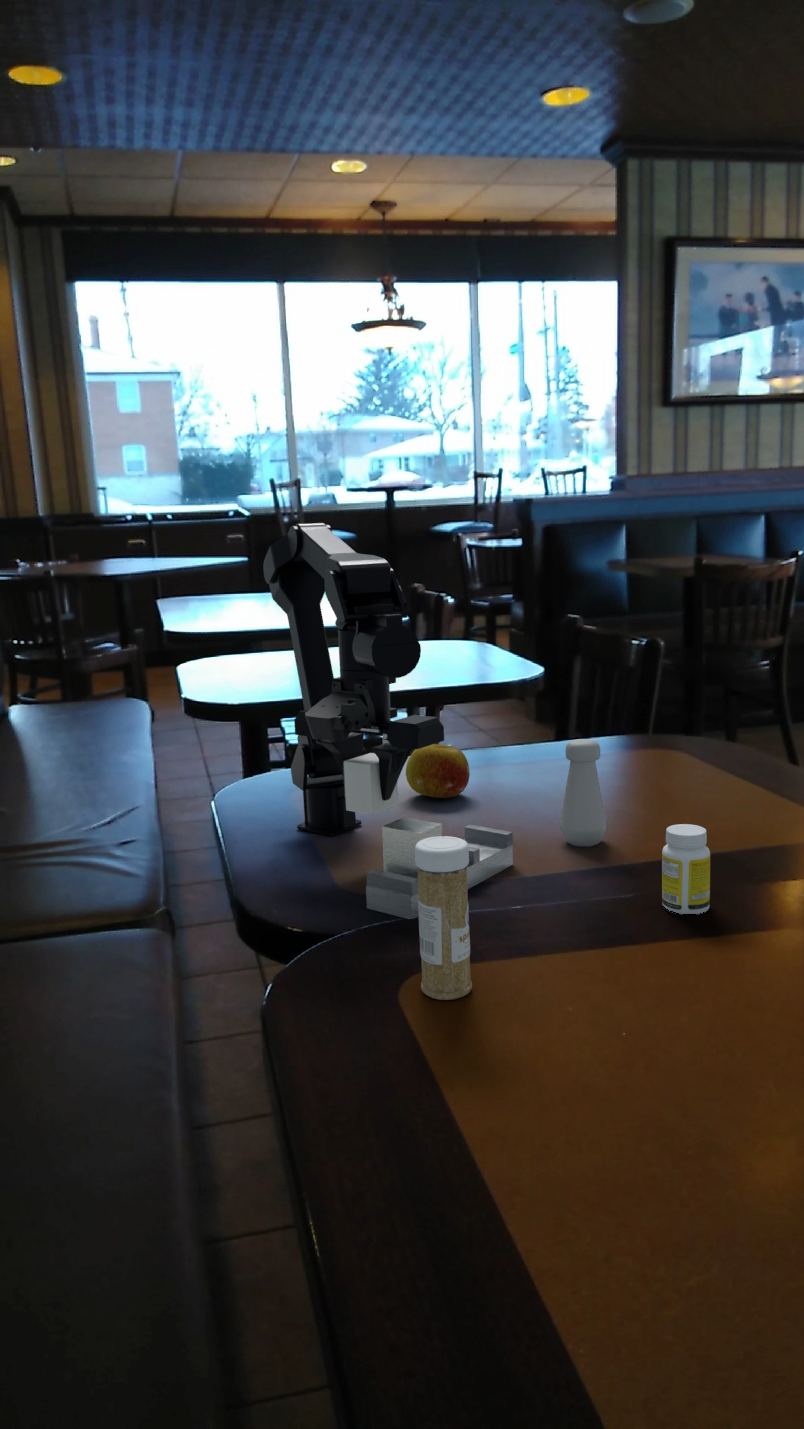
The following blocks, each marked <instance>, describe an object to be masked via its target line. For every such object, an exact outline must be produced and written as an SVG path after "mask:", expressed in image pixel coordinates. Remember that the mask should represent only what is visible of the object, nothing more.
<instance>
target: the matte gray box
mask: <svg viewBox="0 0 804 1429" xmlns="http://www.w3.org/2000/svg"><path fill="white" fill-rule="evenodd" d="M343 778H344V797H345V798H346V810H347V811H353V812H355V813H359V814H365V815H369V816H373V815H376V814H378V813H382V812H384V811H386V810H389V809H392V808H394V807H396V806H399V790H398V789H399V787H398V783H399V782H397V783H396V786H395V788H394V791H393V793H392V795H391V798H390V799H389V800H386V801H384V800H382V795H381V788H380V771H379V759H378V757H377V756H376V754H375V753H374V752H369V753H365V755H362V756H359V757H355V758H352V759H349V760H346V761H344V764H343Z"/></svg>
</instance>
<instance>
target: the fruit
mask: <svg viewBox="0 0 804 1429" xmlns="http://www.w3.org/2000/svg"><path fill="white" fill-rule="evenodd" d="M470 773H471V772H470V765H469V762H468V759H467V757H466V754H465V753H464V752H463V751H462V750H461V749H459V748H458V747H455V746H451V745H445V744H439V743H435V744H432V745H429V746H426V747H423V748H420V749H413V750H412V752H411V753H410V755H409V757H408V759H407V761H406V768H405V777H406V781H407V783H408V785H409V787H410V788H411V789H412V790H413V791H414V792H416V793H417V794H420V795H423V796H426V797H430V798H436V799H449V798H453V797H457V796H459V795H460V794H461V793H463V792H464V791H465V789H467V788H466V787H467V786H468V785H469V780H470V775H471V774H470Z"/></svg>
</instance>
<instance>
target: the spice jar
mask: <svg viewBox="0 0 804 1429" xmlns="http://www.w3.org/2000/svg"><path fill="white" fill-rule="evenodd" d="M415 864H416V866H417V871H418V894H419V898H418V911H419V916H418V929H419V930H418V932H419V955H420V958H421V963H420V964H421V982H420V983H421V984H420V990H421V992H422V993H423V994H425V995H426V996H428V997H429V998H432V999H433V1000H434V999H436V1000H439V1001H440V1000H441V1001H443V1000H445V1001H449V1000H450V1001H452V1000H457V999H460V998H463V997H464V996H466V995H468V994H469V993H470V992H471V990H472V988H473V982H472V979H471V960H470V959H471V955H470V954H471V938H470V937H471V935H470V919H469V918H470V916H469V915H470V914H469V912H470V910H469V909H470V908H469V907H470V906H469V901H468V898H469V896H468V890H467V868H468V867H467V865H468V864H469V849H468V844H467V842H466V841H464V839H463V838H459V837H455V836H445V835H444V836H443V835H442V836H438V837H430V838H426V839H423V840H421V841H419V842H418V843H417V844H416V846H415Z"/></svg>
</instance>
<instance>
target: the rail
mask: <svg viewBox="0 0 804 1429" xmlns="http://www.w3.org/2000/svg"><path fill="white" fill-rule="evenodd" d="M463 828H464V839H463V840H464V841H466V842H467V844H468V849H469V864H468V865H467V867H468V868H467V891H468V890H470V889H471V888H473V887H474V886H477V885H478V884H480V883H482V882H484V881H486V880H488V879H490V878H491V877H493V876H495V875H497V874H498V873H500V872H502V871H504V870H506V869H508V868H509V867H511V866H513V865H514V847H513V844H514V840H513V839H514V838H513V837H514V836H513V831H508V830H503V829H497V828H491V827H486V826H480V825H474V824H468V825H466V826H464V827H463ZM381 834H382V835H381V836H382V860H383V864H382V865H383V870H381V869H376V868H371V869H370V870H368V871H366V886H365V894H366V895H365V897H366V909H368V910H372V911H376V912H380V913H383V914H388V915H391V916H395V917H400V918H403V919H407V920H410V919H413V918H415V919H416V918H419V911H418V898H419V894H418V871H417V866H416V864H415V846H416V844H417V843H418V842H419V841H421V840H423V839H426V838H430V837H438V836H443V823H438V822H433V821H430V820H423V819H418V818H412V817H407V816H404V817H401V818H399V819H396V820H394V821H391V822H389V823H386V824H384V825H381ZM413 920H414V919H413Z"/></svg>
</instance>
